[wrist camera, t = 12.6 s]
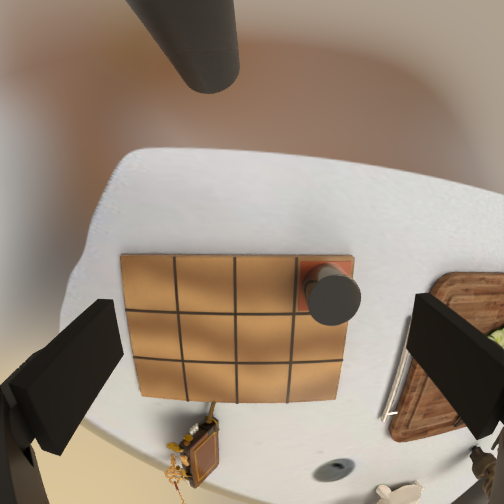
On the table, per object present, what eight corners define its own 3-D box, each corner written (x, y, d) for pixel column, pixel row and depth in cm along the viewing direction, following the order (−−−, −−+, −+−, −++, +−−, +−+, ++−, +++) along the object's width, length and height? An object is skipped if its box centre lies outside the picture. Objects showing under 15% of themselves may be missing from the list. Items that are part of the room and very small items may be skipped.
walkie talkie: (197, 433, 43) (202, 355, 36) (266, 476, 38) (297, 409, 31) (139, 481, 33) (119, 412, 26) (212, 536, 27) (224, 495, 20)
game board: (123, 253, 32) (118, 256, 30) (351, 254, 32) (355, 257, 30) (143, 391, 35) (141, 397, 34) (334, 394, 36) (336, 400, 34)
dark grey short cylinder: (303, 262, 30) (310, 273, 27) (351, 263, 31) (364, 274, 27) (299, 309, 32) (305, 326, 28) (345, 309, 32) (357, 326, 28)
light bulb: (485, 445, 40) (517, 489, 26) (465, 461, 41) (493, 508, 27) (481, 436, 39) (515, 483, 25) (459, 454, 40) (490, 503, 26)
